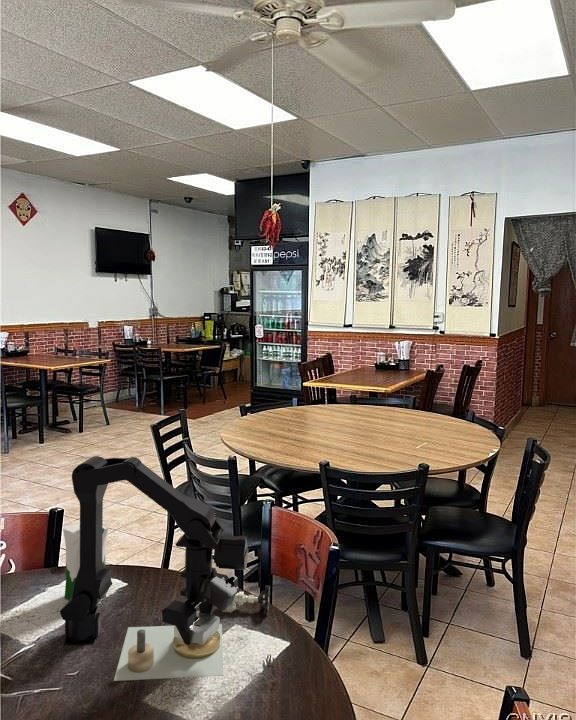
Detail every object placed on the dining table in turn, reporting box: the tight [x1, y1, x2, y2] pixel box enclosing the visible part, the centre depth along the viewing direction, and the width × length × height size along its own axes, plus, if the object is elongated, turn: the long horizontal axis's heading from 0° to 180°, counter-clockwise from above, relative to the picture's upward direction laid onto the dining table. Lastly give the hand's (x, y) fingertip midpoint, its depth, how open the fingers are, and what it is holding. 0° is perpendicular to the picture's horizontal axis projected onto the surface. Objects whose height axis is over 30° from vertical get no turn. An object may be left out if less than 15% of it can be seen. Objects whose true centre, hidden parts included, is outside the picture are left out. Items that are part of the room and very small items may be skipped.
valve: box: [222, 585, 271, 615], centre depth 134 cm, size 7×7×12 cm
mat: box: [113, 623, 224, 682], centre depth 117 cm, size 21×18×1 cm
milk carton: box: [62, 522, 109, 602], centre depth 136 cm, size 9×9×20 cm
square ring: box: [173, 610, 221, 645], centre depth 119 cm, size 7×7×2 cm
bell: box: [173, 625, 220, 659], centre depth 119 cm, size 10×10×4 cm
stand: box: [128, 630, 154, 673], centre depth 112 cm, size 5×5×7 cm
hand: (196, 635), depth 119 cm, fingers closed on square ring, 7 cm apart
